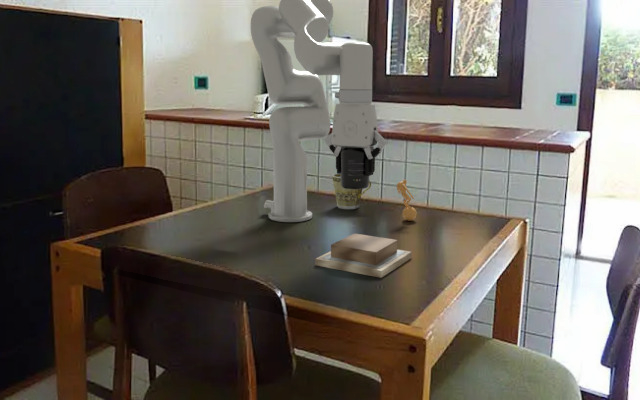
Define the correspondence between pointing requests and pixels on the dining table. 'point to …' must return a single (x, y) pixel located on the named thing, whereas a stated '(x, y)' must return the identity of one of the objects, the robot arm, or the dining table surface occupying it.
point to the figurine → (408, 212)
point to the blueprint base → (362, 268)
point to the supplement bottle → (353, 168)
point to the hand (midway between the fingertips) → (355, 173)
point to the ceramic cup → (346, 194)
